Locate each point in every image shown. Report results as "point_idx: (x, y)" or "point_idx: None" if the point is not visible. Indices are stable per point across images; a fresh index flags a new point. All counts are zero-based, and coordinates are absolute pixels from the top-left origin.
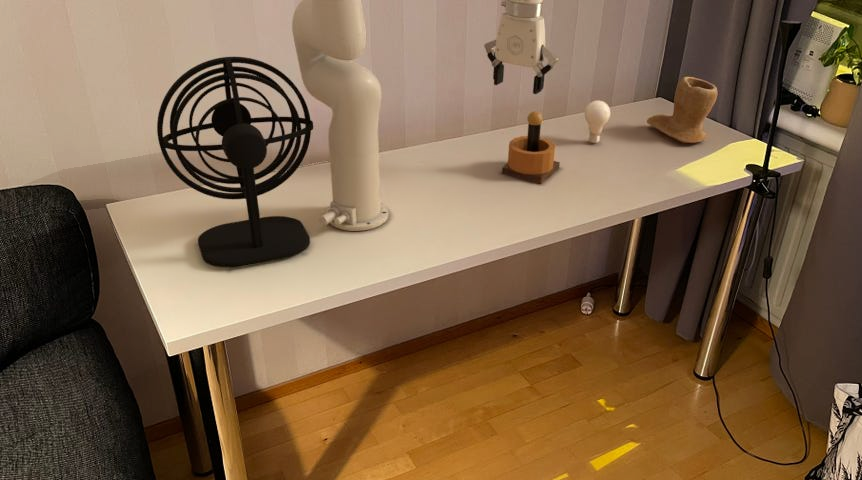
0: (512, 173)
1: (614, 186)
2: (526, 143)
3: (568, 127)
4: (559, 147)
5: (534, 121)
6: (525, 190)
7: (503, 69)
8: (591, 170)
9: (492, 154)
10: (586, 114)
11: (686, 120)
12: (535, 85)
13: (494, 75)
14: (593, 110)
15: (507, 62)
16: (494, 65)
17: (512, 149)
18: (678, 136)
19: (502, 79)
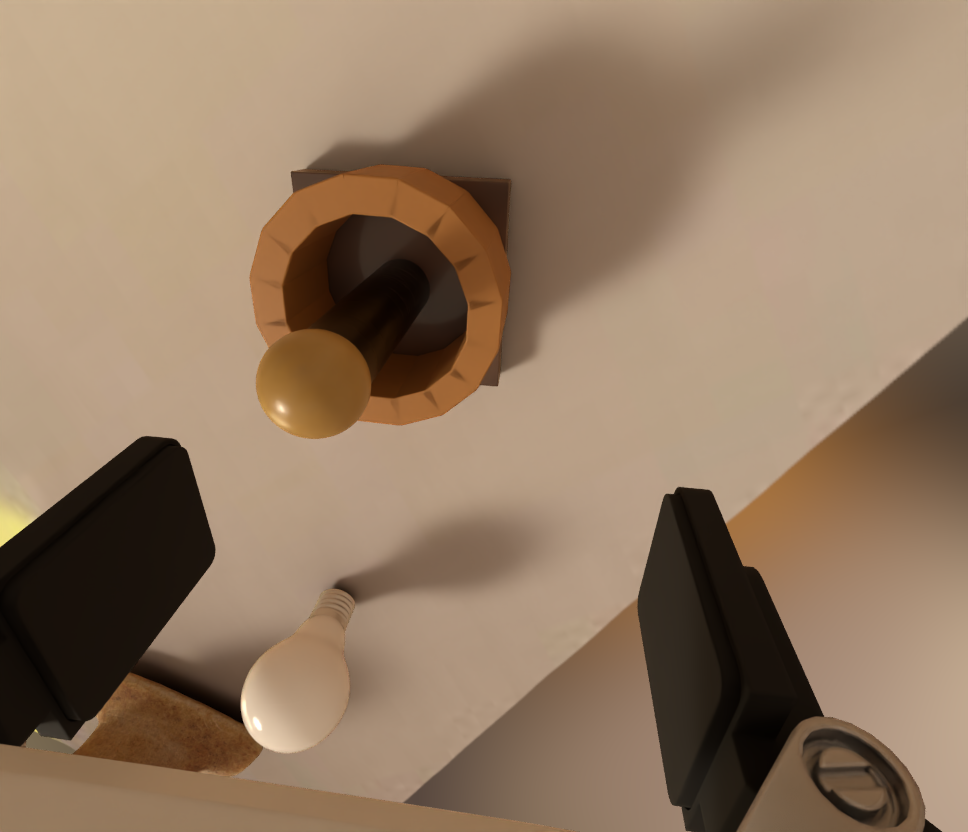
0: (451, 177)
1: (80, 314)
2: (444, 367)
3: (466, 661)
4: (419, 524)
5: (289, 335)
6: (324, 50)
7: (663, 742)
8: (224, 402)
9: (631, 354)
10: (321, 671)
11: (103, 746)
12: (73, 494)
13: (746, 575)
14: (281, 689)
15: (461, 822)
16: (830, 748)
17: (441, 200)
18: (132, 686)
19: (644, 617)
